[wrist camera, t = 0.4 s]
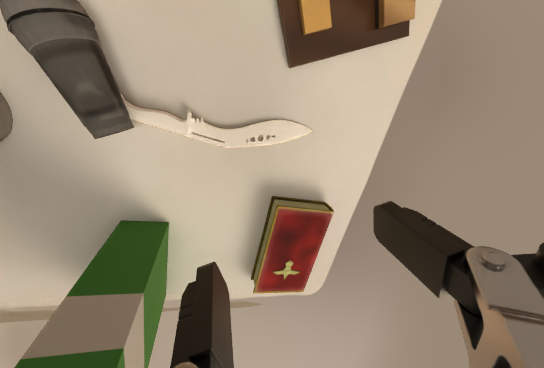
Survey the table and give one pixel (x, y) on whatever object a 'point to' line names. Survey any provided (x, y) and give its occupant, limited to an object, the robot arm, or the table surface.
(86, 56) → the beverage cup
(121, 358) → the green box
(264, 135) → the knife
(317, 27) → the cracker
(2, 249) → the table surface
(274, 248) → the hardcover book
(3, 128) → the coffee mug
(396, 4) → the wooden block stand
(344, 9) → the cutting board
